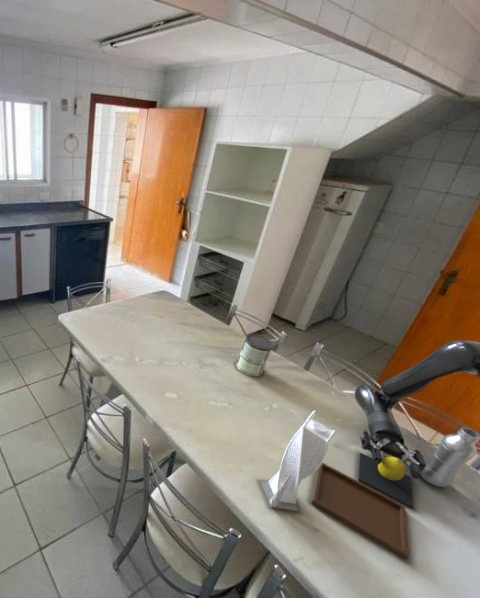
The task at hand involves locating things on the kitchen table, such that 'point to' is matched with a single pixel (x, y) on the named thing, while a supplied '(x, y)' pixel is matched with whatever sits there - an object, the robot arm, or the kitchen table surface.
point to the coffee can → (254, 355)
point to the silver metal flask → (450, 457)
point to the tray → (362, 509)
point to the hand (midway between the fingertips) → (397, 469)
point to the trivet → (384, 481)
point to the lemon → (392, 468)
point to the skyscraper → (298, 463)
